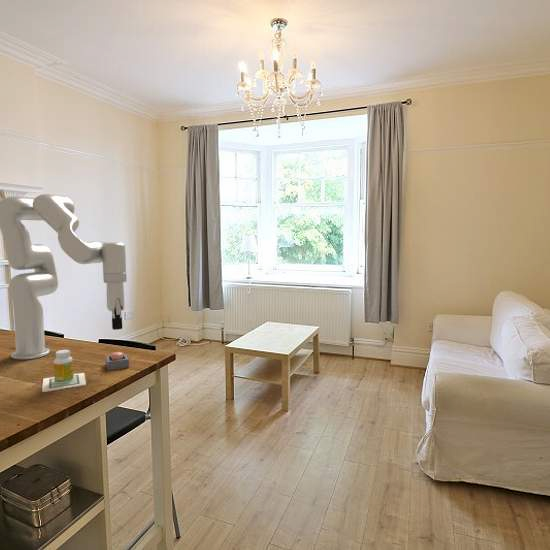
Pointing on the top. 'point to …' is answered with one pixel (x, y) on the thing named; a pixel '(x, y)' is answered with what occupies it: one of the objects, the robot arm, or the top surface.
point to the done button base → (117, 363)
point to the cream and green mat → (51, 385)
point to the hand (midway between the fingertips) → (117, 328)
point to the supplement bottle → (63, 367)
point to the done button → (116, 356)
